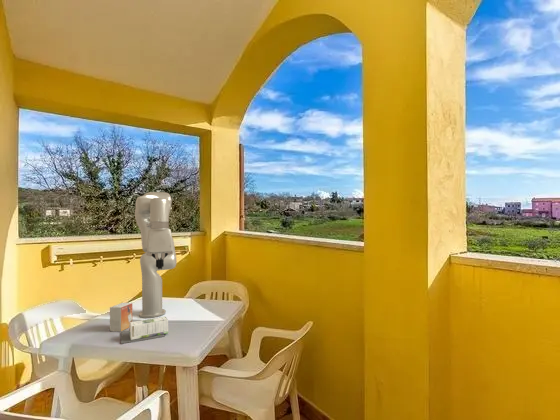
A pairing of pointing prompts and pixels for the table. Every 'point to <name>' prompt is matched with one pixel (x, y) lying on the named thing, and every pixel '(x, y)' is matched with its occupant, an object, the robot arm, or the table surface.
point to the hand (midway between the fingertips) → (159, 268)
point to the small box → (120, 316)
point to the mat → (126, 339)
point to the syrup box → (148, 328)
